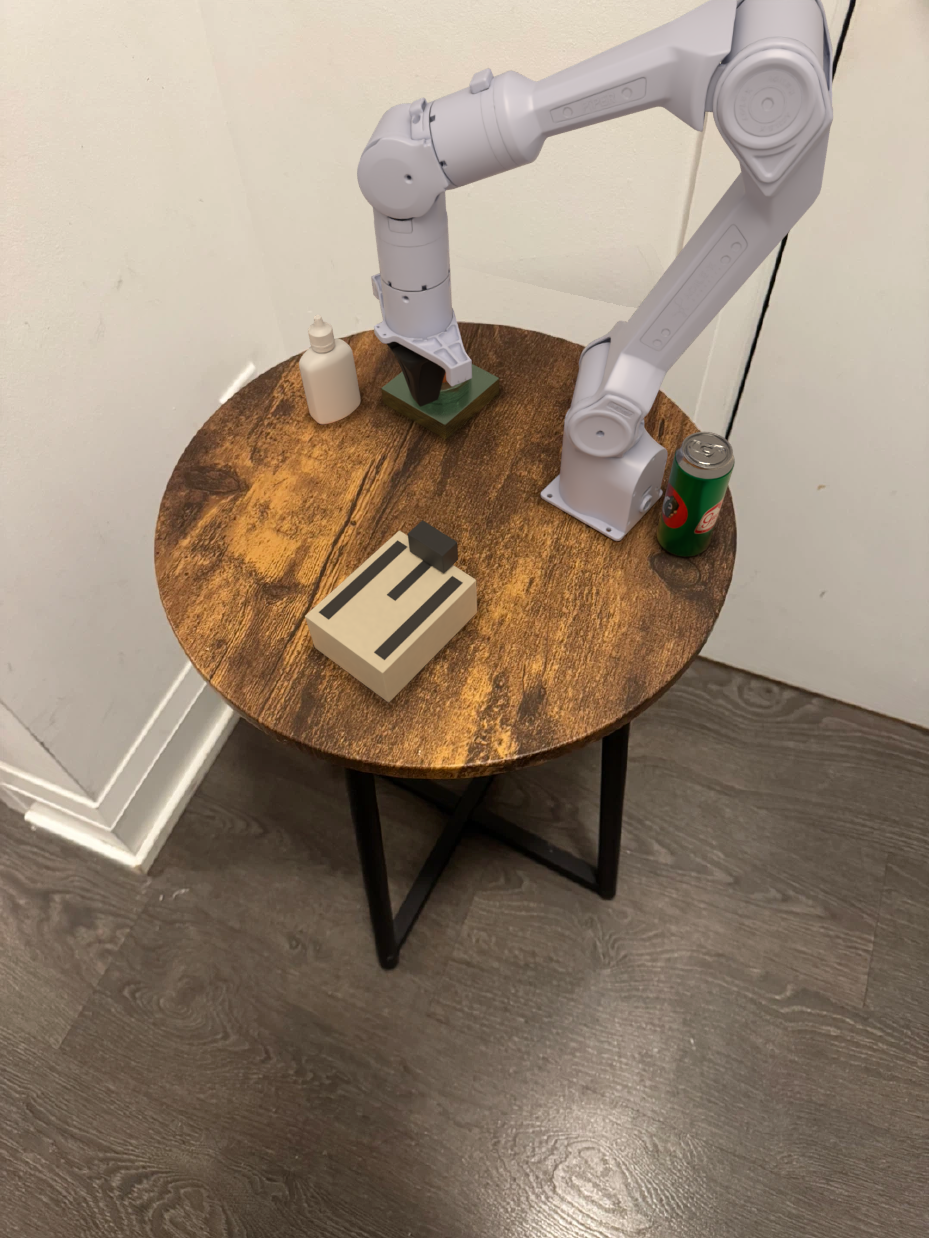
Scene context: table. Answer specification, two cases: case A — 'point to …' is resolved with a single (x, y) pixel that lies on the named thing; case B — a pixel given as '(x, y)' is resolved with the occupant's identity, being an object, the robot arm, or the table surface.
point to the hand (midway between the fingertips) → (425, 399)
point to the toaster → (392, 616)
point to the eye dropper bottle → (328, 375)
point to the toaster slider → (433, 546)
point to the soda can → (695, 493)
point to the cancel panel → (443, 401)
